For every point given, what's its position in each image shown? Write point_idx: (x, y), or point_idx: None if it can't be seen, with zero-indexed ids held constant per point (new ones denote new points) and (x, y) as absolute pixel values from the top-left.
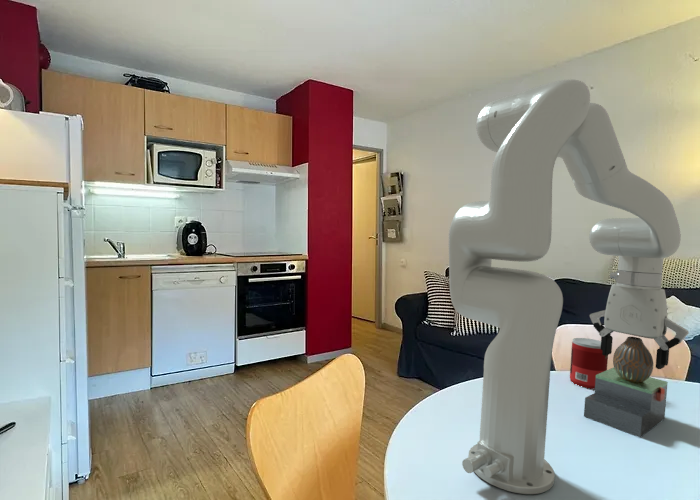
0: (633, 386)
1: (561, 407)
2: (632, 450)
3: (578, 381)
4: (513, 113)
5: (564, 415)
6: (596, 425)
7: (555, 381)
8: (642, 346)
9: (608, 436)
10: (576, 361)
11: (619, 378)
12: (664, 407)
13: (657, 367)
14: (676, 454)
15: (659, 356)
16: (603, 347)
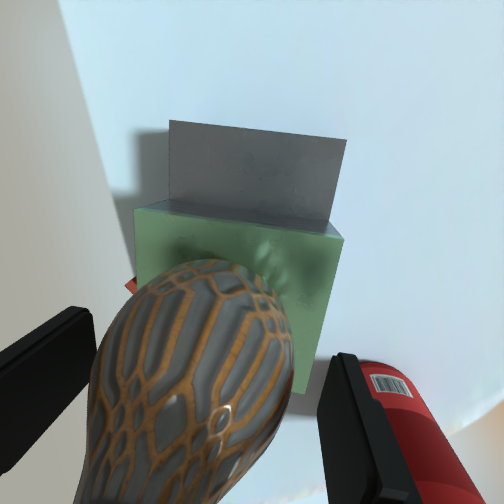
0: (196, 218)
1: (401, 159)
2: (183, 12)
3: (390, 372)
4: None
5: (382, 98)
6: (291, 108)
7: (447, 354)
8: (89, 433)
9: (249, 53)
10: (433, 431)
11: (257, 271)
12: None
13: (77, 308)
14: (116, 101)
15: (9, 353)
16: (365, 393)
